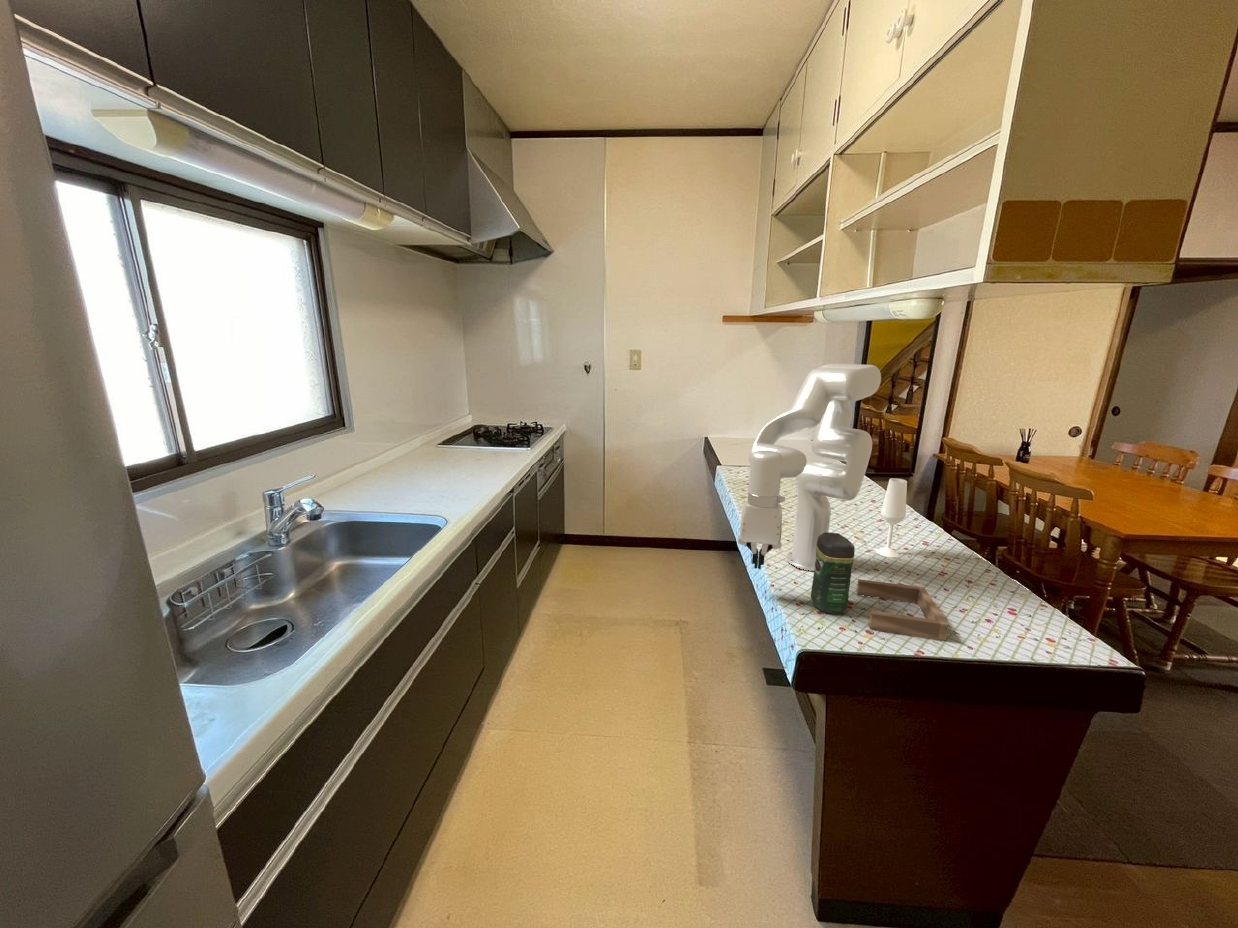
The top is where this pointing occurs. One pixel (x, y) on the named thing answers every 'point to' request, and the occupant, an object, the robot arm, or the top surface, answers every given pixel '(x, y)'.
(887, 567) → the top surface
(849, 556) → the coffee jar
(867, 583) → the display stand
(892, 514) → the champagne flute
